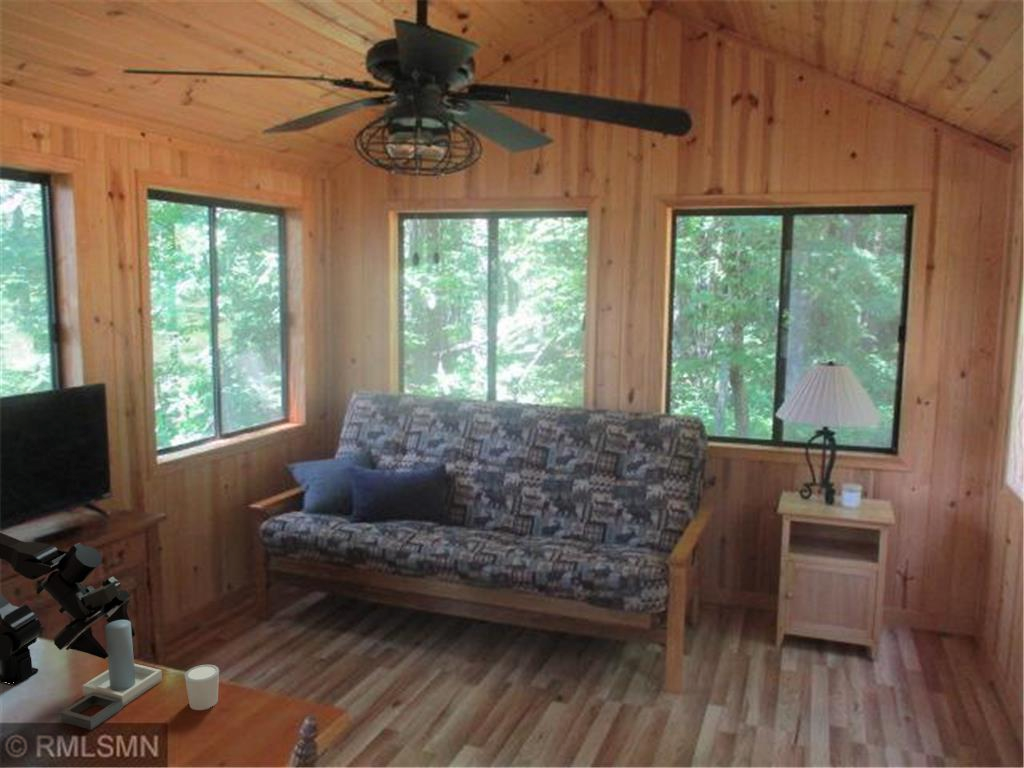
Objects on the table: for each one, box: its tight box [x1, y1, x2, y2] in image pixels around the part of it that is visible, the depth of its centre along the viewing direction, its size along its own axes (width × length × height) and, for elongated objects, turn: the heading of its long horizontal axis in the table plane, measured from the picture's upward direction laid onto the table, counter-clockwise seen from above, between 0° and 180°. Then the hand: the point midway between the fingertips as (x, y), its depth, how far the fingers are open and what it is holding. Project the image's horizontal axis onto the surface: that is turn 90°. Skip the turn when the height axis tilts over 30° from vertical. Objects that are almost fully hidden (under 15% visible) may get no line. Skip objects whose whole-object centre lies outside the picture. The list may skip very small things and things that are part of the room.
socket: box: [60, 692, 124, 731], centre depth 165 cm, size 8×8×2 cm
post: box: [104, 620, 135, 691], centre depth 173 cm, size 5×5×14 cm
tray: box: [82, 662, 163, 707], centre depth 174 cm, size 11×11×2 cm
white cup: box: [184, 664, 220, 711], centre depth 169 cm, size 7×7×7 cm
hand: (120, 646), depth 173 cm, fingers open, 9 cm apart
